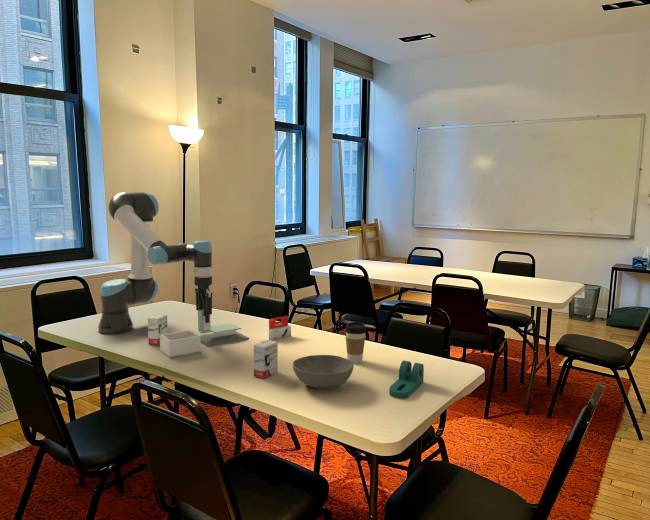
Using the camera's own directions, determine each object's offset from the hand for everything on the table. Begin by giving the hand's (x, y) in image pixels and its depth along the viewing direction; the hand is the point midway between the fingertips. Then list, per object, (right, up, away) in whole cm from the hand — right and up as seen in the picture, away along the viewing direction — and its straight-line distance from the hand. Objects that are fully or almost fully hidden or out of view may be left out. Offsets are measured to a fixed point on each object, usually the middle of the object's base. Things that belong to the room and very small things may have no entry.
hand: (204, 328), depth 218 cm
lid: (+5, -2, +4) cm, 7 cm away
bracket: (+81, -14, -49) cm, 96 cm away
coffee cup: (+65, -10, -22) cm, 70 cm away
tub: (-7, -8, -14) cm, 17 cm away
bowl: (+52, -13, -47) cm, 71 cm away
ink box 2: (+32, -12, -37) cm, 50 cm away
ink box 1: (-20, -6, -1) cm, 21 cm away
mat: (+6, -5, +6) cm, 10 cm away
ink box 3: (+33, -6, +7) cm, 34 cm away
